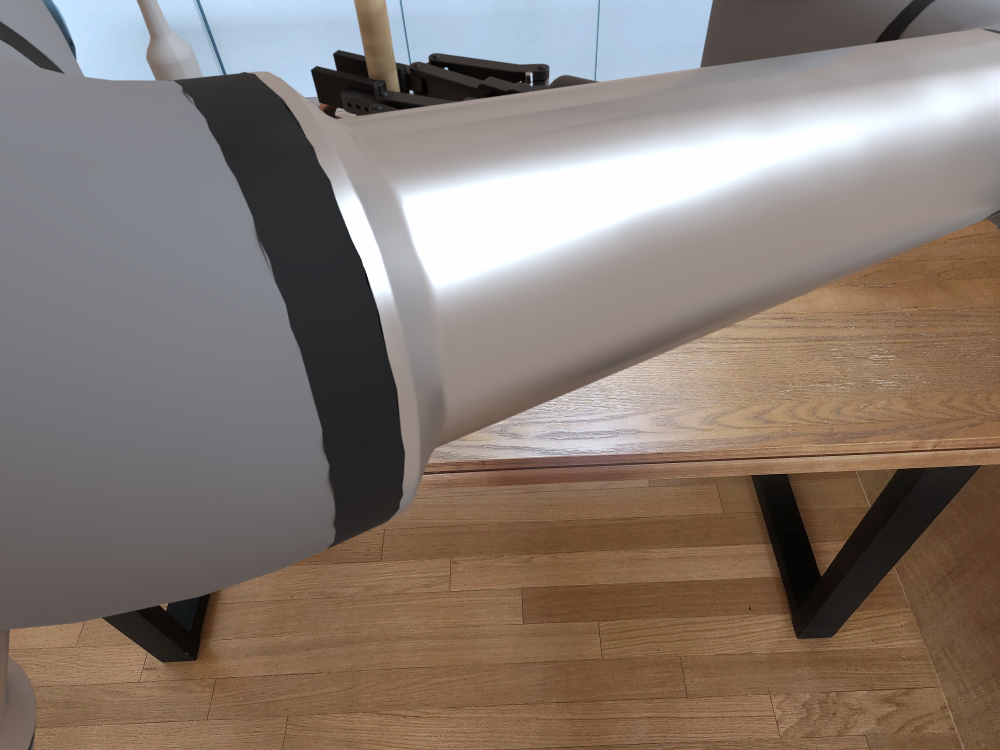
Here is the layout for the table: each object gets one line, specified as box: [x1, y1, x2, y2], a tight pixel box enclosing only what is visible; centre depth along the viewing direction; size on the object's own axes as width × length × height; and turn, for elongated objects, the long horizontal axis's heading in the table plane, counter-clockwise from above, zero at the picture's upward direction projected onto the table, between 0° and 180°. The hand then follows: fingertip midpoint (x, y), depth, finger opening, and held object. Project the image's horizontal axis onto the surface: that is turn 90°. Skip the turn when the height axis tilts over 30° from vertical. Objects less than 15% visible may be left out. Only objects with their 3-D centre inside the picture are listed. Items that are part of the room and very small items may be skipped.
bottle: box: [136, 0, 204, 81], centre depth 96 cm, size 7×7×28 cm
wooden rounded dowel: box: [353, 0, 400, 92], centre depth 52 cm, size 6×6×40 cm
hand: (329, 76), depth 54 cm, fingers closed on wooden rounded dowel, 2 cm apart
